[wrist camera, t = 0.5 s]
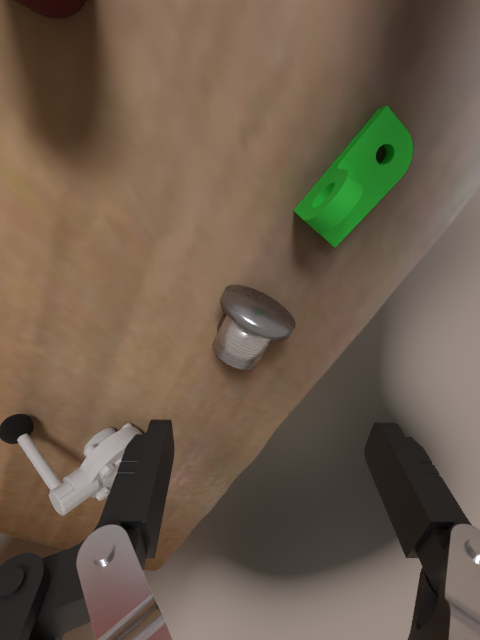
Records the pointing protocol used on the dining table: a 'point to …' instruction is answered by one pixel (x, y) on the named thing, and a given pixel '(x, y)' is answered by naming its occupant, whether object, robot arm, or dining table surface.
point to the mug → (53, 7)
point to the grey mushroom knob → (249, 326)
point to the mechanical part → (358, 177)
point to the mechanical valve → (85, 480)
